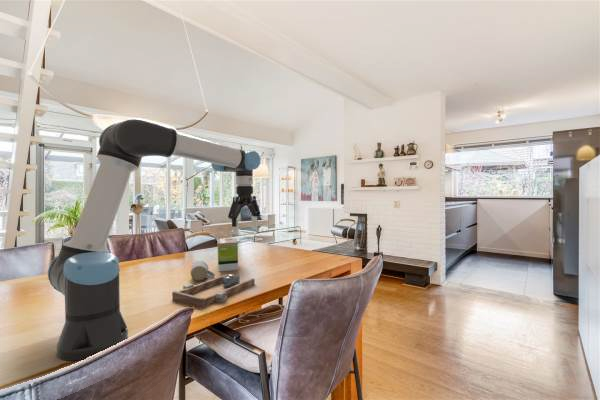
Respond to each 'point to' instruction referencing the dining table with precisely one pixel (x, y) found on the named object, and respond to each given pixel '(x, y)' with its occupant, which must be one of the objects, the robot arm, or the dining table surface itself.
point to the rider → (231, 280)
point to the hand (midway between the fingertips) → (245, 232)
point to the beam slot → (220, 297)
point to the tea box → (227, 254)
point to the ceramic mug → (201, 271)
